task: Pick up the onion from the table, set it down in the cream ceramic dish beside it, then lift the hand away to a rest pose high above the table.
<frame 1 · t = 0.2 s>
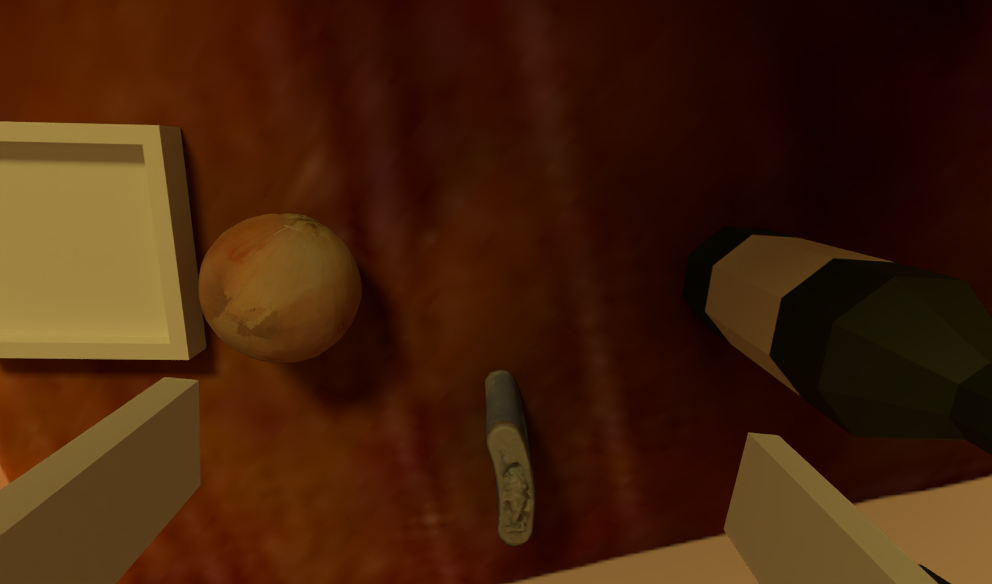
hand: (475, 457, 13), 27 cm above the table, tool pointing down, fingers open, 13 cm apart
onion: (308, 271, 39), on the table
flask: (506, 419, 43), on the table
wine bottle: (734, 278, 40), on the table
dish: (80, 241, 38), on the table
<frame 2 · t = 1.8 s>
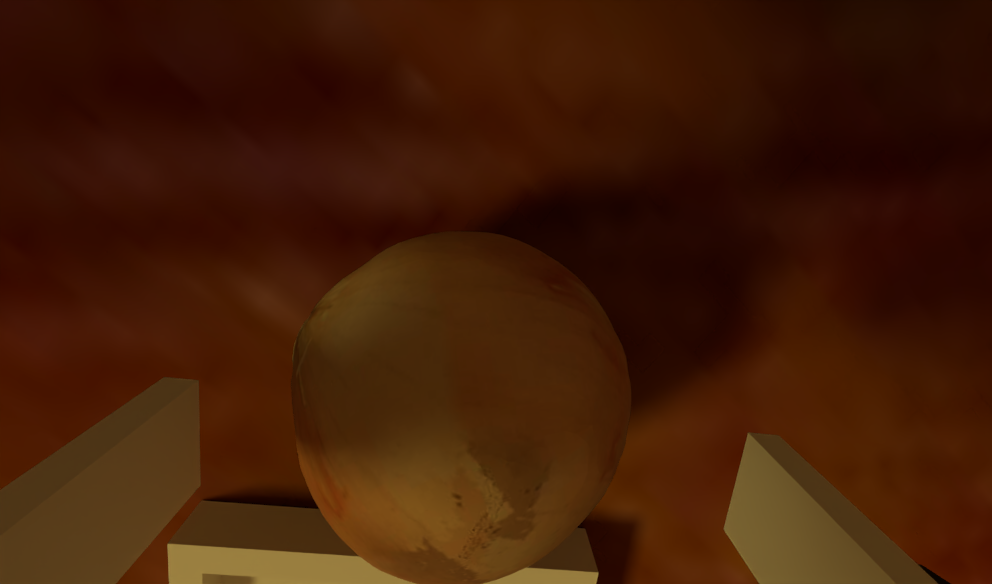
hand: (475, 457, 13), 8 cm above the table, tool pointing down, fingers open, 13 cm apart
onion: (465, 337, 21), on the table
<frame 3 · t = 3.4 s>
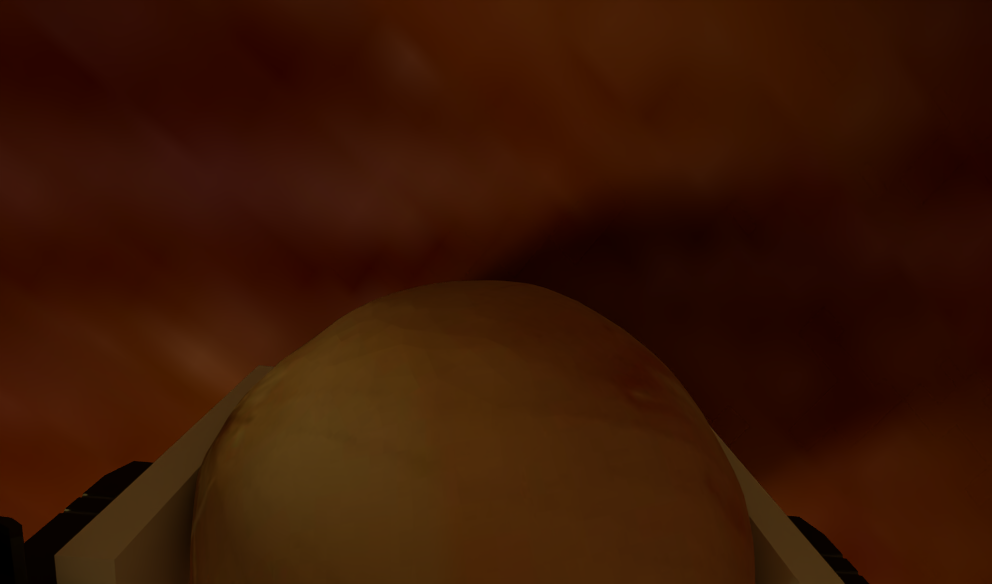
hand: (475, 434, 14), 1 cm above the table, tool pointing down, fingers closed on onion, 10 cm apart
onion: (475, 410, 15), on the table, touching gripper
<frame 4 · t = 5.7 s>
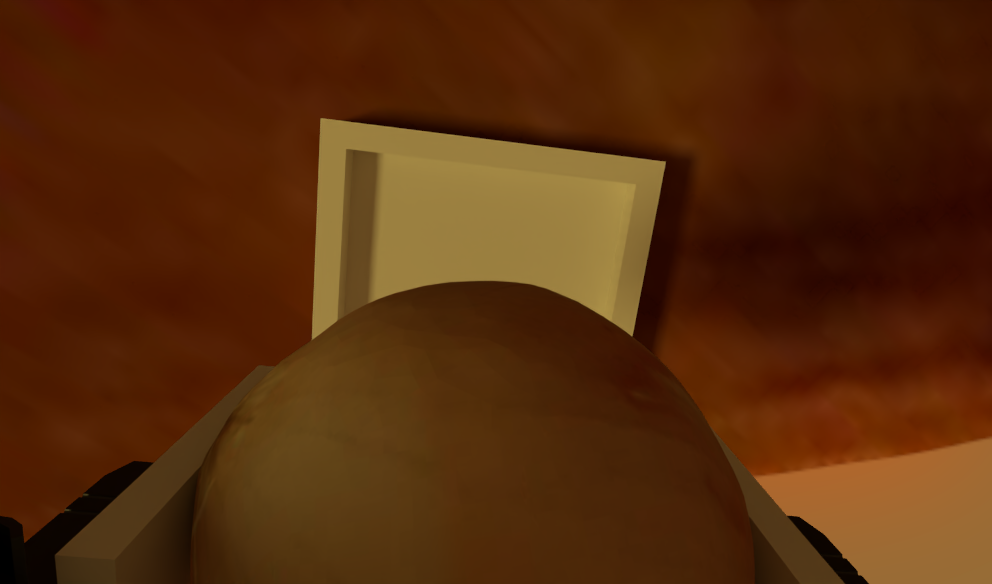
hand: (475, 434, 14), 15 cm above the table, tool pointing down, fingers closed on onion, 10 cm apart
onion: (475, 410, 15), point 14 cm above the table, touching gripper
dish: (477, 294, 29), on the table
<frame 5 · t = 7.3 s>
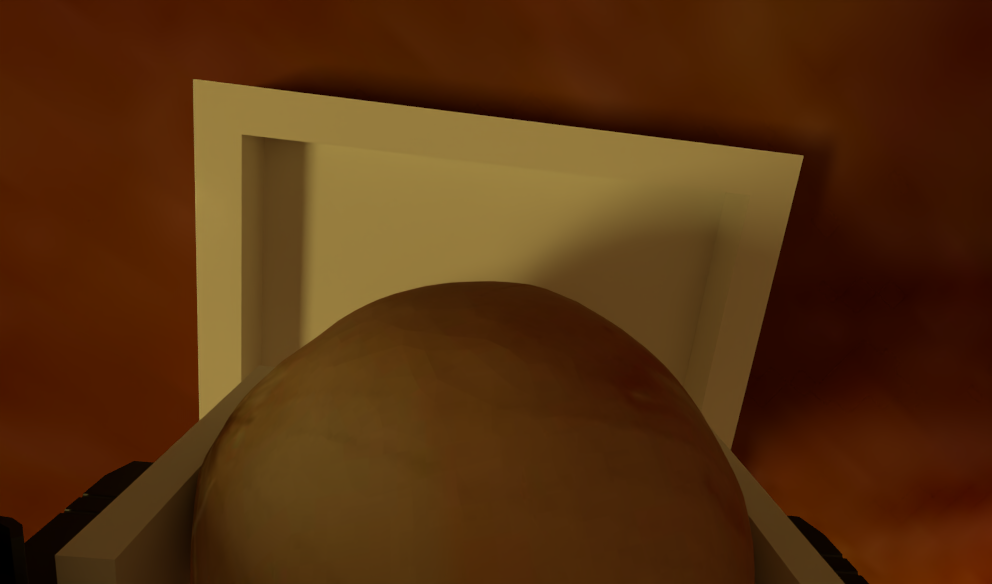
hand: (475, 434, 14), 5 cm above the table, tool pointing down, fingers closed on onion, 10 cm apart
onion: (475, 411, 15), point 3 cm above the table, touching gripper
dish: (476, 367, 18), on the table
when the fingers open (4 cm above the table, at t = 8.3 s): onion drops 2 cm, resting on dish.
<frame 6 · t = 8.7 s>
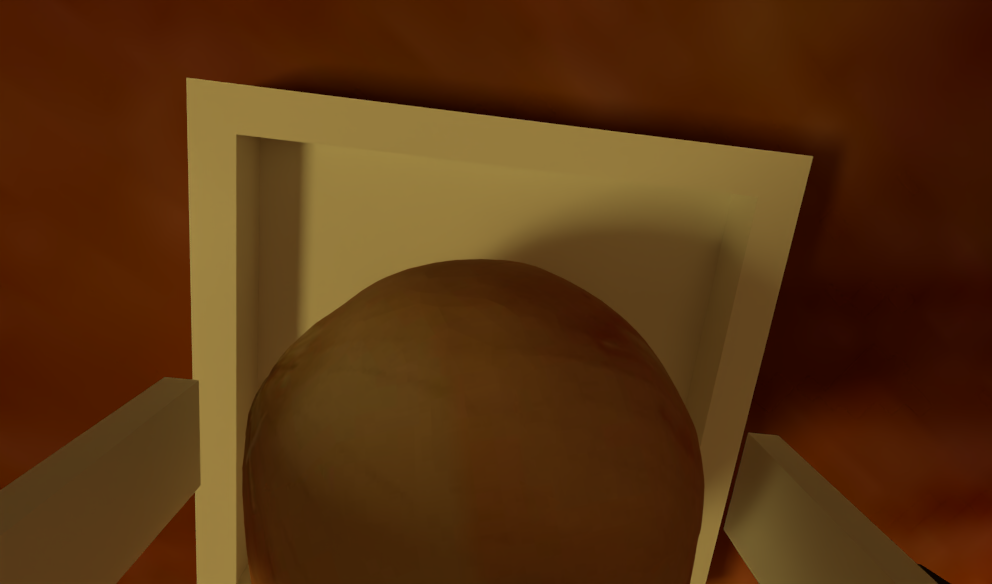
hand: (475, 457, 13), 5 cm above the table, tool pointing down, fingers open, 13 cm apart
onion: (474, 381, 17), point 1 cm above the table, touching dish
dish: (476, 372, 18), on the table
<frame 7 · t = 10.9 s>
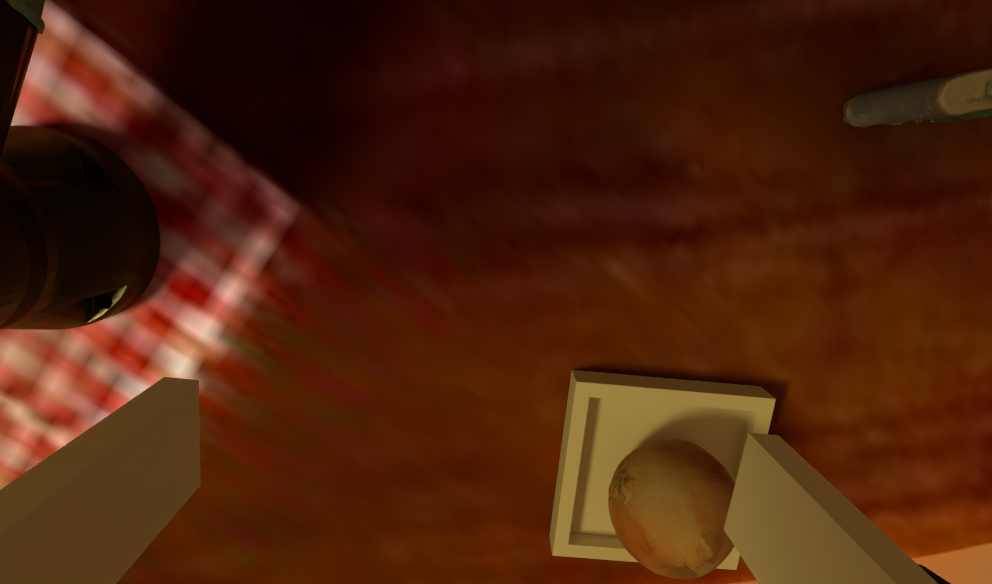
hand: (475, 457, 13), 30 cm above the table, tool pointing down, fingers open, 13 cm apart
onion: (653, 468, 45), point 1 cm above the table, touching dish
flask: (901, 106, 40), on the table
dish: (651, 463, 46), on the table
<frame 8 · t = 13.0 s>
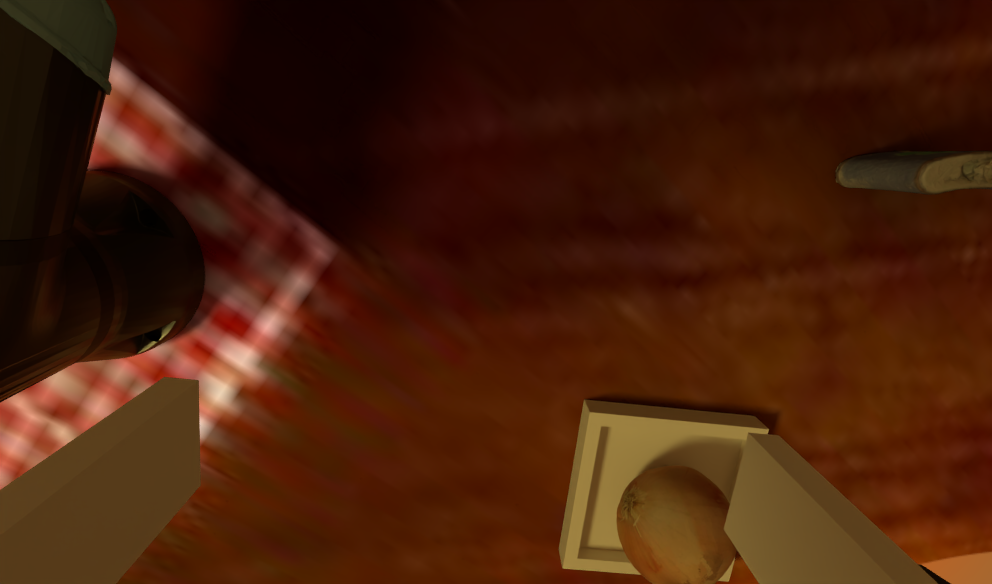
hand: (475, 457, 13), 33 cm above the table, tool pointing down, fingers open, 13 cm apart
onion: (656, 489, 50), point 1 cm above the table, touching dish
flask: (887, 169, 44), on the table
dish: (653, 484, 50), on the table
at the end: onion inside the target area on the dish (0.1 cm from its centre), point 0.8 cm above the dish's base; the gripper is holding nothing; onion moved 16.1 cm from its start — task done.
